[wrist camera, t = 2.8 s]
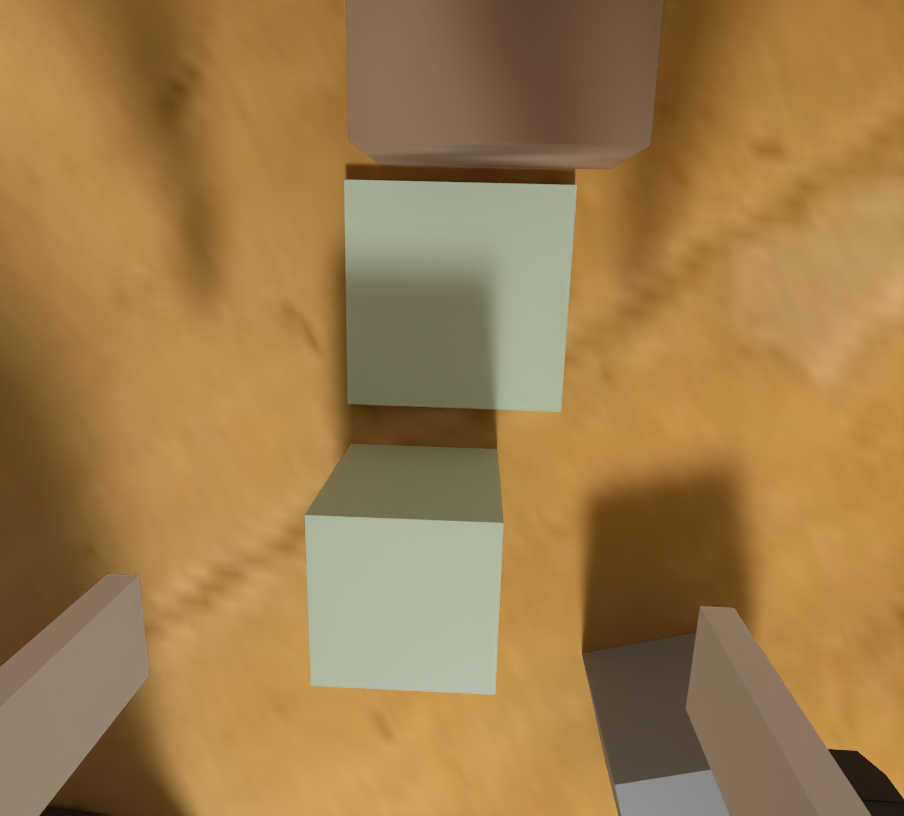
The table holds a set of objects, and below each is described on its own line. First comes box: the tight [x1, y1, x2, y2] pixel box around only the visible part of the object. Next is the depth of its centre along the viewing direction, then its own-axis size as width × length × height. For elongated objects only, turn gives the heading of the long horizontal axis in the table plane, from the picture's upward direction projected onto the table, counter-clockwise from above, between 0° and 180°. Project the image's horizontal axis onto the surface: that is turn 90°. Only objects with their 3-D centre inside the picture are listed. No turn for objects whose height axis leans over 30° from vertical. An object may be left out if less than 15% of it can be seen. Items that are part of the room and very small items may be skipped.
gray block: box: [582, 633, 730, 816], centre depth 21 cm, size 5×5×6 cm
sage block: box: [305, 444, 503, 695], centre depth 20 cm, size 5×5×6 cm
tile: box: [344, 180, 577, 412], centre depth 20 cm, size 7×7×1 cm
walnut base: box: [346, 0, 664, 169], centre depth 16 cm, size 7×7×5 cm
